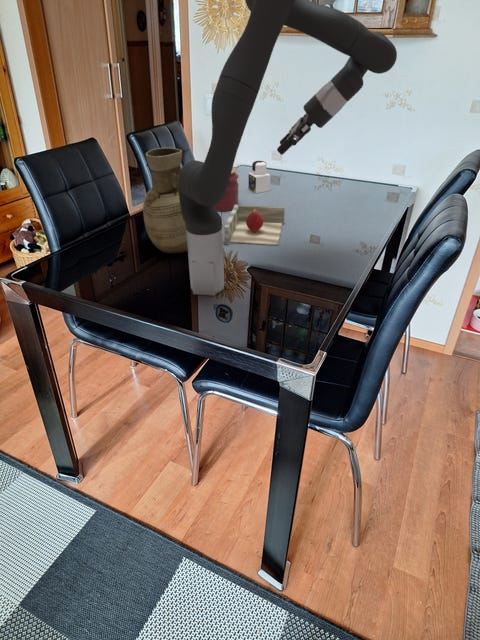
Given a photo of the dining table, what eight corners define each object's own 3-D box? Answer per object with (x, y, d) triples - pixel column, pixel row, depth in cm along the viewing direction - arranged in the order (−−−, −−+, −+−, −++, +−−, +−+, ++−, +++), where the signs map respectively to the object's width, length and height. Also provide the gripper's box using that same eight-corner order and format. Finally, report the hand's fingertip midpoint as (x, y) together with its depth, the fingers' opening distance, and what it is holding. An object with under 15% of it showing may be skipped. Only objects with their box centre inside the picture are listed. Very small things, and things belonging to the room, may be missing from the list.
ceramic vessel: (199, 229, 153) (193, 140, 136) (211, 254, 136) (206, 156, 119) (145, 235, 149) (132, 144, 132) (150, 262, 132) (136, 161, 115)
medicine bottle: (248, 188, 190) (248, 160, 184) (262, 186, 193) (263, 158, 186) (255, 193, 185) (255, 164, 178) (270, 191, 187) (270, 162, 181)
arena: (279, 247, 140) (279, 229, 137) (224, 244, 143) (224, 226, 139) (283, 222, 157) (284, 206, 154) (235, 220, 160) (234, 204, 156)
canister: (243, 209, 170) (243, 162, 160) (212, 213, 166) (210, 166, 156) (232, 199, 180) (231, 154, 170) (202, 203, 176) (199, 158, 166)
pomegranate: (261, 236, 146) (261, 213, 142) (244, 234, 147) (244, 212, 143) (264, 229, 151) (264, 207, 146) (247, 228, 152) (247, 206, 147)
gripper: (316, 89, 119) (273, 133, 127) (315, 97, 108) (268, 144, 116) (333, 111, 122) (290, 152, 130) (334, 120, 110) (287, 165, 118)
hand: (280, 148), depth 123 cm, fingers open, 8 cm apart
